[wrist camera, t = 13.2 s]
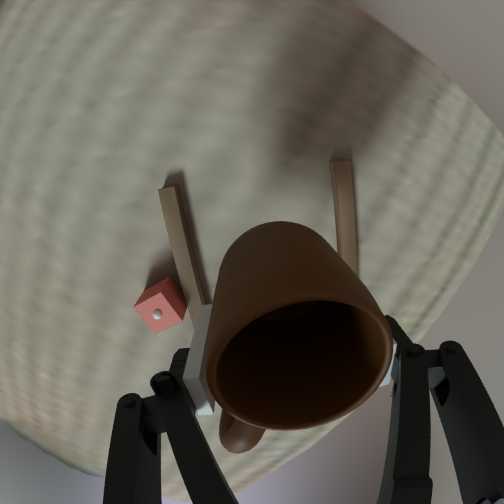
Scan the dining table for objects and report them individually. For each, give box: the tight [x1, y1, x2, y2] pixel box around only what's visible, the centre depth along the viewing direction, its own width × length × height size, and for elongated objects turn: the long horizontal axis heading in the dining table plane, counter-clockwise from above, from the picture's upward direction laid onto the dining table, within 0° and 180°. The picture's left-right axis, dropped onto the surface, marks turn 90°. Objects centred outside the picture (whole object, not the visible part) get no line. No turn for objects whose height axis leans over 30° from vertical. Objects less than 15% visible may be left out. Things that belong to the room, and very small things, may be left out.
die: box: [134, 276, 187, 334], centre depth 27 cm, size 4×4×4 cm
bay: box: [158, 160, 357, 330], centre depth 27 cm, size 17×18×2 cm
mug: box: [205, 221, 393, 453], centre depth 15 cm, size 12×8×9 cm, turn 156°
